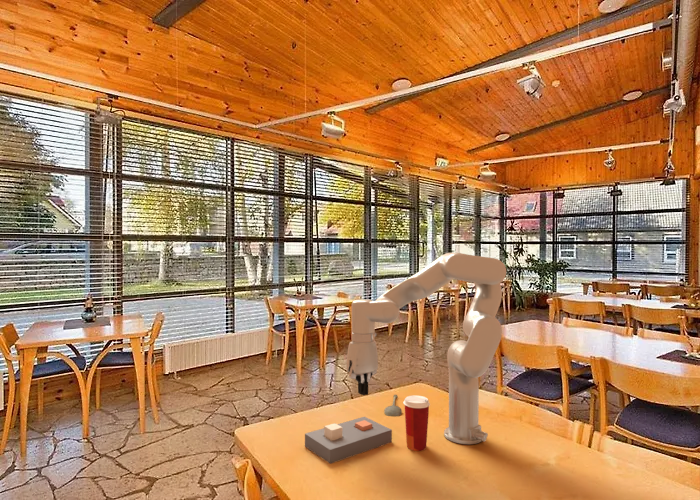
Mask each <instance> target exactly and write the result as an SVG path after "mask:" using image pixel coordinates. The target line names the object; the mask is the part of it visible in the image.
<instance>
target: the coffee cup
mask: <svg viewBox="0 0 700 500" xmlns="http://www.w3.org/2000/svg"><path fill="white" fill-rule="evenodd" d="M402 403H403V406H404V420H405V434H406V435H405V438H406V439H405V440H406V447H407V448H408V449H409V450H410V451H414V452H422V451H425V450H426V449H427V442H428V425H429V407H430V406H431V403H430V401H429V399H428V398H427V397H426V396H424V395H423V396H422V395H408V396H406V397H405V398H404V401H402Z"/></svg>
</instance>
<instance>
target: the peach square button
mask: <svg viewBox="0 0 700 500" xmlns="http://www.w3.org/2000/svg"><path fill="white" fill-rule="evenodd" d="M355 428H357V429H359V430H361V431H365V430H369V429H372V424H371V423H369V422H367V421H365V420H363V421H360V422H357V423H355Z"/></svg>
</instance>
